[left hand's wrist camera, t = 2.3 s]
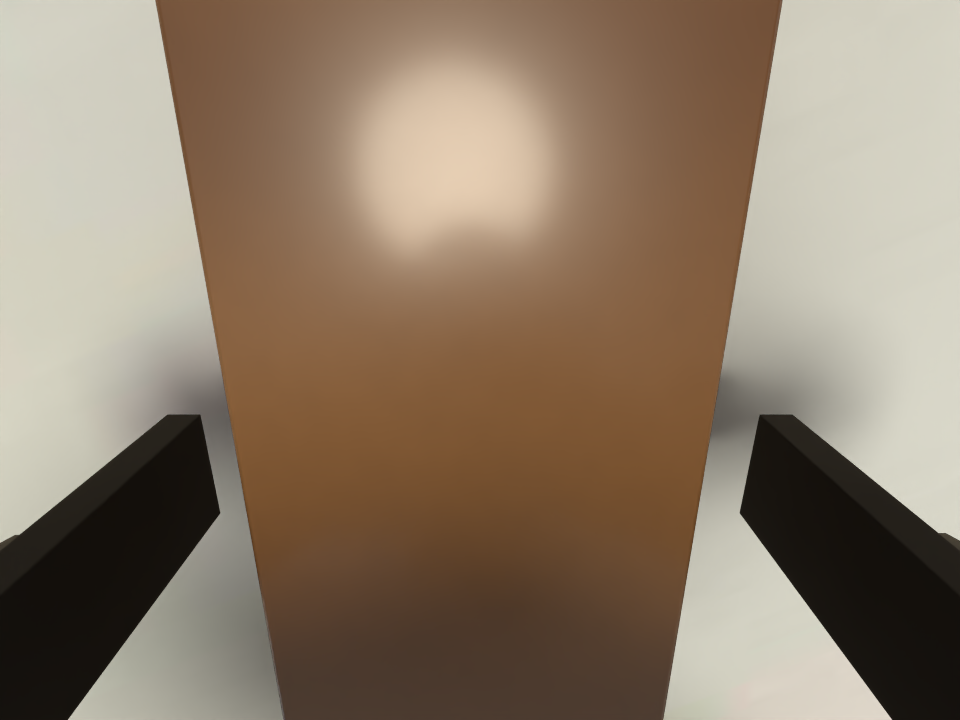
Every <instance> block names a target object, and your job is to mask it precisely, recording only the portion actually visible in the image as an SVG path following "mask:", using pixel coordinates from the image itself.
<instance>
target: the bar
mask: <svg viewBox="0 0 960 720" xmlns="http://www.w3.org/2000/svg"><path fill="white" fill-rule="evenodd" d="M156 6H157V12H158V17H159V23H160V28H161V34H162V40H163V45H164V51H165V57H166V62H167V68H168V73H169V79H170V85H171V90H172V96H173V101H174V107H175V113H176V118H177V124H178V130H179V135H180V141H181V146H182V152H183V158H184V163H185V169H186V174H187V180H188V186H189V191H190V197H191V202H192V208H193V214H194V219H195V225H196V231H197V236H198V242H199V247H200V253H201V259H202V264H203V270H204V275H205V281H206V287H207V292H208V298H209V304H210V309H211V315H212V320H213V326H214V332H215V337H216V343H217V348H218V354H219V360H220V365H221V371H222V377H223V382H224V388H225V393H226V399H227V405H228V410H229V416H230V421H231V427H232V433H233V438H234V444H235V450H236V455H237V461H238V466H239V472H240V478H241V483H242V489H243V494H244V500H245V506H246V511H247V517H248V523H249V528H250V534H251V539H252V545H253V551H254V556H255V562H256V567H257V573H258V579H259V584H260V590H261V596H262V601H263V607H264V612H265V618H266V624H267V629H268V635H269V640H270V646H271V652H272V657H273V663H274V669H275V674H276V680H277V685H278V691H279V697H280V702H281V708H282V713H283V719H284V720H663V718H664V712H665V706H666V700H667V694H668V688H669V681H670V675H671V669H672V663H673V657H674V651H675V645H676V639H677V633H678V627H679V621H680V615H681V609H682V603H683V597H684V591H685V585H686V579H687V573H688V567H689V561H690V555H691V549H692V543H693V537H694V531H695V525H696V519H697V513H698V507H699V501H700V495H701V489H702V483H703V477H704V471H705V465H706V458H707V452H708V446H709V440H710V434H711V428H712V422H713V416H714V410H715V404H716V398H717V392H718V386H719V380H720V374H721V368H722V362H723V356H724V350H725V344H726V338H727V332H728V326H729V320H730V314H731V308H732V302H733V296H734V290H735V284H736V278H737V272H738V266H739V260H740V254H741V248H742V242H743V235H744V229H745V223H746V217H747V211H748V205H749V199H750V193H751V187H752V181H753V175H754V169H755V163H756V157H757V151H758V145H759V139H760V133H761V127H762V121H763V115H764V109H765V103H766V97H767V91H768V85H769V79H770V73H771V67H772V61H773V55H774V49H775V43H776V37H777V31H778V25H779V19H780V12H781V6H782V0H156Z"/></svg>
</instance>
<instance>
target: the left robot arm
mask: <svg viewBox="0 0 960 720" xmlns="http://www.w3.org/2000/svg"><path fill="white" fill-rule="evenodd" d="M219 514H220V509H219V504H218V499H217V494H216V490H215V485H214V480H213V475H212V470H211V465H210V460H209V455H208V450H207V445H206V440H205V435H204V430H203V426H202V421H201V416H200V415H167V416H165V417H164V418H163V419H162V420H160V421H159V422H158V423H157V424H156V425H154V426H153V427H152V428H151V429H149V430H148V431H147V432H146V433H144V434H143V435H142V436H141V437H140V438H138V439H137V440H136V441H135V442H133V443H132V444H131V445H130V446H128V447H127V448H126V449H125V450H124V451H122V452H121V453H120V454H119V455H117V456H116V457H115V458H114V459H112V460H111V461H110V462H109V463H107V464H106V465H105V466H104V467H103V468H101V469H100V470H99V471H98V472H96V473H95V474H94V475H93V476H91V477H90V478H89V479H88V480H87V481H85V482H84V483H83V484H82V485H80V486H79V487H78V488H77V489H75V490H74V491H73V492H72V493H71V494H69V495H68V496H67V497H66V498H64V499H63V500H62V501H61V502H59V503H58V504H57V505H56V506H55V507H53V508H52V509H51V510H50V511H48V512H47V513H46V514H45V515H43V516H42V517H41V518H40V519H39V520H37V521H36V522H35V523H34V524H32V525H31V526H30V527H29V528H27V529H26V530H25V531H24V532H23V533H21V534H20V535H14V536H12V537H11V538H9V539H7V540H5V541H3V542H1V543H0V720H68V719H69V717H70V716H71V715H72V713H73V712H74V711H75V709H76V708H77V706H78V705H79V704H80V702H81V701H82V700H83V698H84V697H85V696H86V694H87V693H88V692H89V690H90V689H91V688H92V686H93V685H94V683H95V682H96V681H97V679H98V678H99V677H100V675H101V674H102V673H103V671H104V670H105V669H106V667H107V666H108V664H109V663H110V662H111V660H112V659H113V658H114V656H115V655H116V654H117V652H118V651H119V650H120V648H121V647H122V646H123V644H124V643H125V641H126V640H127V639H128V637H129V636H130V635H131V633H132V632H133V631H134V629H135V628H136V627H137V625H138V624H139V622H140V621H141V620H142V618H143V617H144V616H145V614H146V613H147V612H148V610H149V609H150V608H151V606H152V605H153V603H154V602H155V601H156V599H157V598H158V597H159V595H160V594H161V593H162V591H163V590H164V589H165V587H166V586H167V585H168V583H169V582H170V580H171V579H172V578H173V576H174V575H175V574H176V572H177V571H178V570H179V568H180V567H181V566H182V564H183V563H184V561H185V560H186V559H187V557H188V556H189V555H190V553H191V552H192V551H193V549H194V548H195V547H196V545H197V544H198V543H199V541H200V540H201V538H202V537H203V536H204V534H205V533H206V532H207V530H208V529H209V528H210V526H211V525H212V524H213V522H214V521H215V519H216V518H217V517H218V515H219ZM740 514H741V515H742V517H743V518H744V519H745V521H746V522H747V524H748V525H749V526H750V528H751V529H752V530H753V532H754V533H755V534H756V536H757V537H758V538H759V540H760V541H761V543H762V544H763V545H764V547H765V548H766V549H767V551H768V552H769V553H770V555H771V556H772V557H773V559H774V560H775V561H776V563H777V564H778V566H779V567H780V568H781V570H782V571H783V572H784V574H785V575H786V576H787V578H788V579H789V580H790V582H791V583H792V585H793V586H794V587H795V589H796V590H797V591H798V593H799V594H800V595H801V597H802V598H803V599H804V601H805V602H806V603H807V605H808V606H809V608H810V609H811V610H812V612H813V613H814V614H815V616H816V617H817V618H818V620H819V621H820V622H821V624H822V625H823V627H824V628H825V629H826V631H827V632H828V633H829V635H830V636H831V637H832V639H833V640H834V641H835V643H836V644H837V646H838V647H839V648H840V650H841V651H842V652H843V654H844V655H845V656H846V658H847V659H848V660H849V662H850V663H851V664H852V666H853V667H854V669H855V670H856V671H857V673H858V674H859V675H860V677H861V678H862V679H863V681H864V682H865V683H866V685H867V686H868V688H869V689H870V690H871V692H872V693H873V694H874V696H875V697H876V698H877V700H878V701H879V702H880V704H881V705H882V706H883V708H884V709H885V711H886V712H887V713H888V715H889V716H890V717H891V719H892V720H960V541H959V540H957V539H956V538H954V537H952V536H950V535H948V534H946V533H937V532H936V531H935V530H934V529H933V528H931V527H930V526H929V525H928V524H926V523H925V522H924V521H923V520H921V519H920V518H919V517H918V516H917V515H915V514H914V513H913V512H912V511H910V510H909V509H908V508H907V507H905V506H904V505H903V504H902V503H901V502H899V501H898V500H897V499H896V498H894V497H893V496H892V495H891V494H889V493H888V492H887V491H886V490H885V489H883V488H882V487H881V486H880V485H878V484H877V483H876V482H875V481H873V480H872V479H871V478H870V477H869V476H867V475H866V474H865V473H864V472H862V471H861V470H860V469H859V468H857V467H856V466H855V465H854V464H853V463H851V462H850V461H849V460H848V459H846V458H845V457H844V456H843V455H841V454H840V453H839V452H838V451H836V450H835V449H834V448H833V447H832V446H830V445H829V444H828V443H827V442H825V441H824V440H823V439H822V438H820V437H819V436H818V435H817V434H816V433H814V432H813V431H812V430H811V429H809V428H808V427H807V426H806V425H804V424H803V423H802V422H801V421H800V420H798V419H797V418H796V417H795V416H793V415H760V416H759V421H758V426H757V430H756V435H755V440H754V445H753V450H752V455H751V460H750V465H749V470H748V475H747V480H746V485H745V490H744V494H743V499H742V504H741V509H740Z"/></svg>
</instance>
